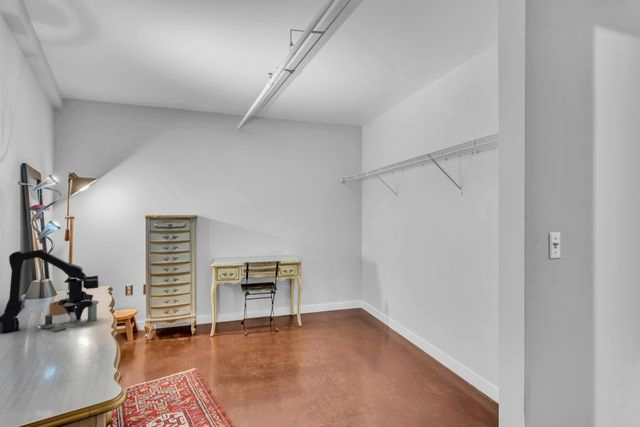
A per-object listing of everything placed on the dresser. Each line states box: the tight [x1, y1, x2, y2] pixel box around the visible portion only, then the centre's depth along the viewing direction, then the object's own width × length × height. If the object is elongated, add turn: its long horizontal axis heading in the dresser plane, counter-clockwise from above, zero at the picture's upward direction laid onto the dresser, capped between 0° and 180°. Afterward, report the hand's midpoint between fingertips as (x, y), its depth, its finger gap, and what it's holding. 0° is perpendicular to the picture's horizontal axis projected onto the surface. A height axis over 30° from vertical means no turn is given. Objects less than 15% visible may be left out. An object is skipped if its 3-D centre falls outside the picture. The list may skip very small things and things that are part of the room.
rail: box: [38, 324, 67, 333], centre depth 171 cm, size 5×13×2 cm, turn 69°
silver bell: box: [69, 311, 82, 323], centre depth 179 cm, size 5×5×6 cm
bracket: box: [48, 300, 68, 316], centre depth 204 cm, size 18×8×7 cm, turn 15°
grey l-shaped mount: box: [62, 299, 99, 329], centre depth 182 cm, size 14×8×10 cm, turn 159°
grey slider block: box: [34, 314, 56, 330], centre depth 170 cm, size 8×4×6 cm, turn 159°
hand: (75, 319), depth 179 cm, fingers closed on silver bell, 5 cm apart
